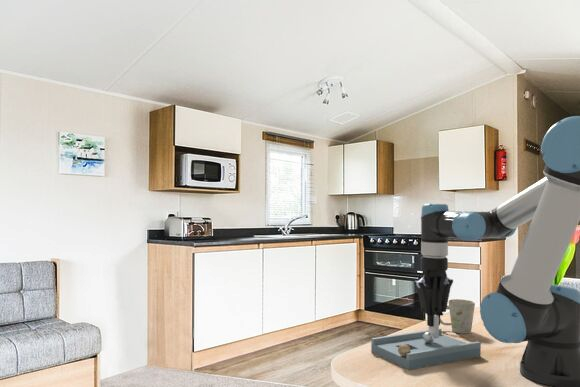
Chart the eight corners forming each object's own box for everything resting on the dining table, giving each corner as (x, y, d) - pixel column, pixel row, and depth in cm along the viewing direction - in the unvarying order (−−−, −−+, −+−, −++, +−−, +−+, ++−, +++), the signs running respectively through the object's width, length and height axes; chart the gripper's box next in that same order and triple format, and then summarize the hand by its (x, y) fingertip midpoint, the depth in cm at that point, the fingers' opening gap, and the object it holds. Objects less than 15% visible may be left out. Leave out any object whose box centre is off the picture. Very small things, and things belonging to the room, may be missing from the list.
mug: (476, 335, 155) (476, 305, 155) (436, 333, 157) (437, 302, 157) (472, 329, 163) (472, 300, 163) (434, 326, 165) (434, 298, 166)
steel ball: (427, 334, 135) (427, 345, 135) (436, 333, 136) (436, 344, 136) (420, 331, 138) (420, 342, 138) (429, 330, 139) (429, 341, 139)
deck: (480, 356, 133) (480, 342, 133) (408, 370, 122) (409, 354, 122) (439, 341, 148) (439, 328, 148) (371, 352, 136) (371, 338, 136)
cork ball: (413, 357, 124) (413, 345, 124) (403, 359, 123) (403, 346, 123) (404, 353, 127) (405, 341, 127) (395, 355, 125) (395, 343, 125)
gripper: (441, 253, 144) (441, 331, 144) (408, 255, 139) (407, 336, 139) (460, 256, 137) (459, 337, 137) (426, 259, 132) (425, 343, 132)
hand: (433, 336), depth 138 cm, fingers closed
